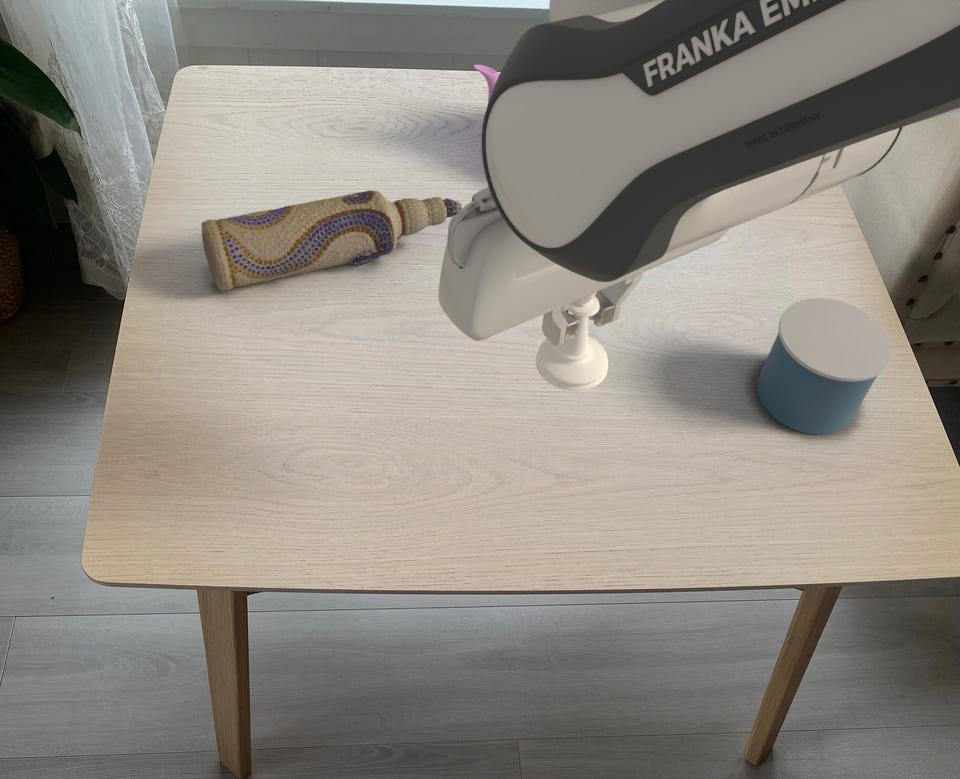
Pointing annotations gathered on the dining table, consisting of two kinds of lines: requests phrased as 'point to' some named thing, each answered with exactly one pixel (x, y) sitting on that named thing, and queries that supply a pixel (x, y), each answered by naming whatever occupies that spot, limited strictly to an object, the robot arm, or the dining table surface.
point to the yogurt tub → (822, 365)
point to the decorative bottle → (314, 235)
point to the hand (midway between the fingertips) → (579, 326)
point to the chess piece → (575, 353)
